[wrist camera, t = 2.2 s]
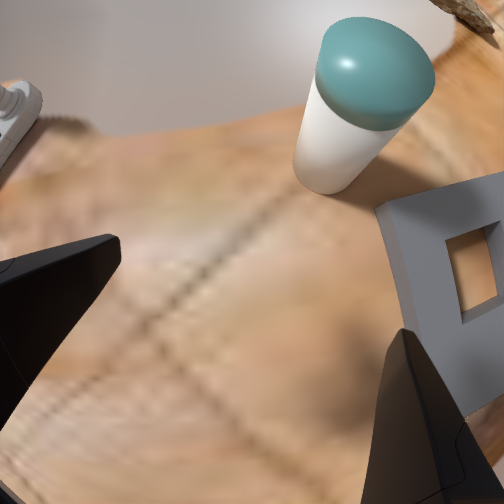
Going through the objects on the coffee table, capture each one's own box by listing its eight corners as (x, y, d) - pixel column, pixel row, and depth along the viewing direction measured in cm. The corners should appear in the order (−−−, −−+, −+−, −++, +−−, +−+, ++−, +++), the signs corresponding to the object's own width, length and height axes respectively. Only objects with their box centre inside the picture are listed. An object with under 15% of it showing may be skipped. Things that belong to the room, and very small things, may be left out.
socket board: (528, 358, 20) (545, 362, 18) (419, 421, 20) (432, 434, 18) (495, 176, 22) (512, 169, 19) (374, 209, 22) (386, 201, 19)
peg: (363, 186, 22) (453, 103, 9) (304, 201, 22) (351, 116, 9) (342, 130, 22) (402, 16, 10) (284, 142, 22) (304, 21, 10)
